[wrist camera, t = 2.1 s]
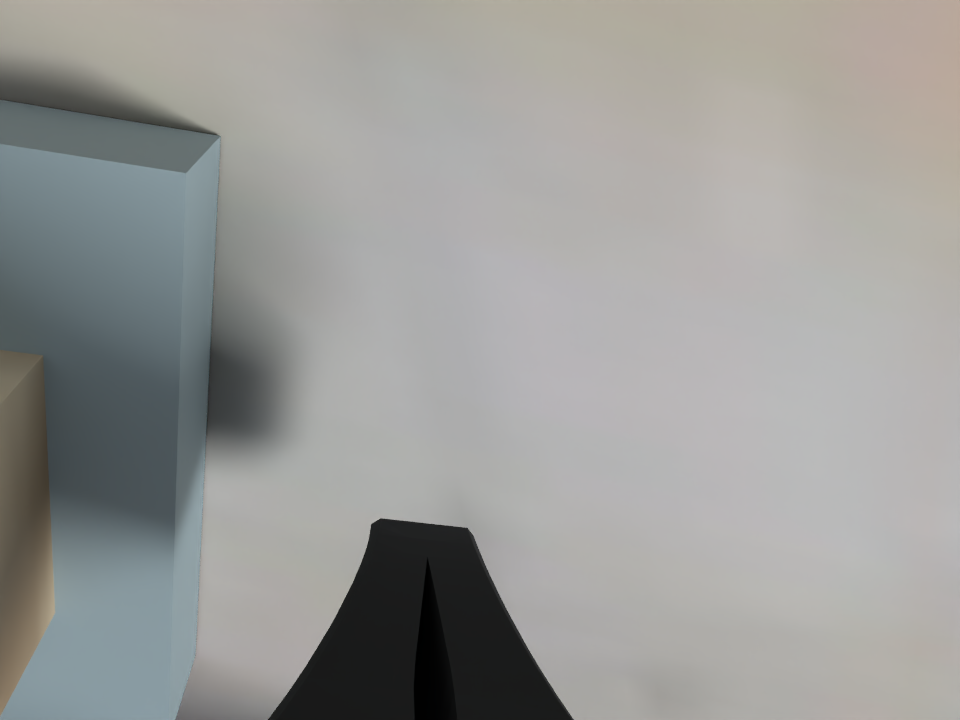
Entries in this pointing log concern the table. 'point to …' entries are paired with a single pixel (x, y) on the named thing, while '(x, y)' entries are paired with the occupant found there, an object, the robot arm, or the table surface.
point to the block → (23, 517)
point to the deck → (113, 395)
